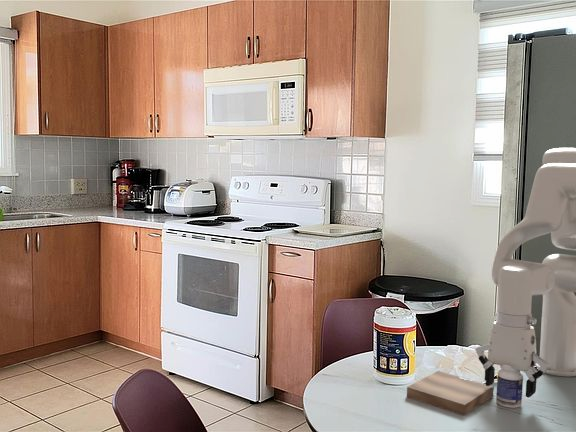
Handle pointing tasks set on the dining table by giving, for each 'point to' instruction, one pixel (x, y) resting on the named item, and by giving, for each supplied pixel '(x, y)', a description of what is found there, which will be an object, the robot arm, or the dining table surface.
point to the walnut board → (450, 392)
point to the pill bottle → (509, 387)
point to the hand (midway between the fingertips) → (509, 389)
